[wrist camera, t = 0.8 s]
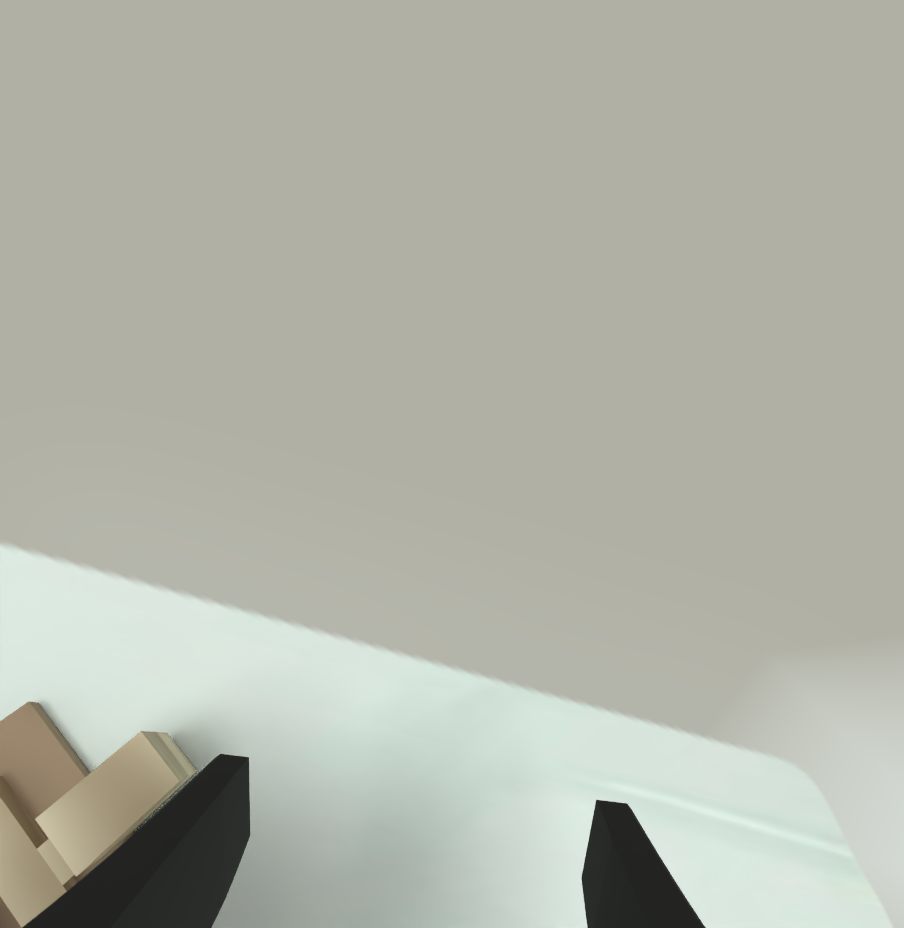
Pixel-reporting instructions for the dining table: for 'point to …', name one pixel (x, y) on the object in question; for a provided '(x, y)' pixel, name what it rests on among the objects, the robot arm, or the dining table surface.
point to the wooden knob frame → (83, 821)
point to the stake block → (38, 771)
